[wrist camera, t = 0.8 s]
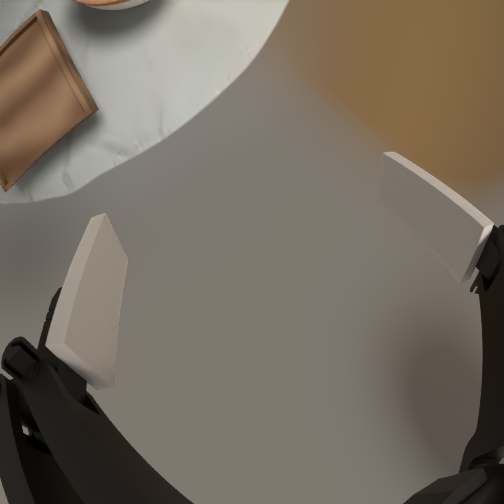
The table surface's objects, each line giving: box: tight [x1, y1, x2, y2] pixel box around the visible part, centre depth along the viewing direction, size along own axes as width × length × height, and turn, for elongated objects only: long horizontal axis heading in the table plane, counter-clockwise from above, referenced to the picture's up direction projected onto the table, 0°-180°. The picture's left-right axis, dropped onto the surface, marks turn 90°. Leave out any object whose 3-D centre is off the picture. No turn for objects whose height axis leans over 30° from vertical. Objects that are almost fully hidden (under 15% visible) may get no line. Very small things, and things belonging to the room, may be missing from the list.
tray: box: [0, 9, 99, 192], centre depth 20 cm, size 16×16×7 cm
